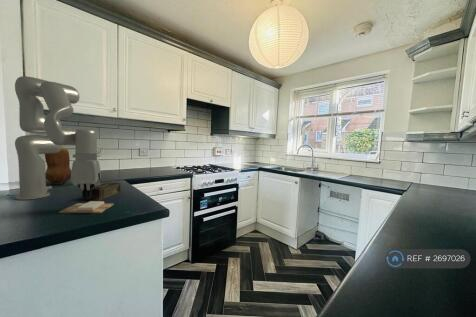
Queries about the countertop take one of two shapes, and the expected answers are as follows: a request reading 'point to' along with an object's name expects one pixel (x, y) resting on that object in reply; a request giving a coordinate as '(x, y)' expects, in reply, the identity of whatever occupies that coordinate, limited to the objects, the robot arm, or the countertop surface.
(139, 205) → the countertop surface
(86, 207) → the slab
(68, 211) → the mat
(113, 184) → the beverage carton
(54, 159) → the butternut squash
